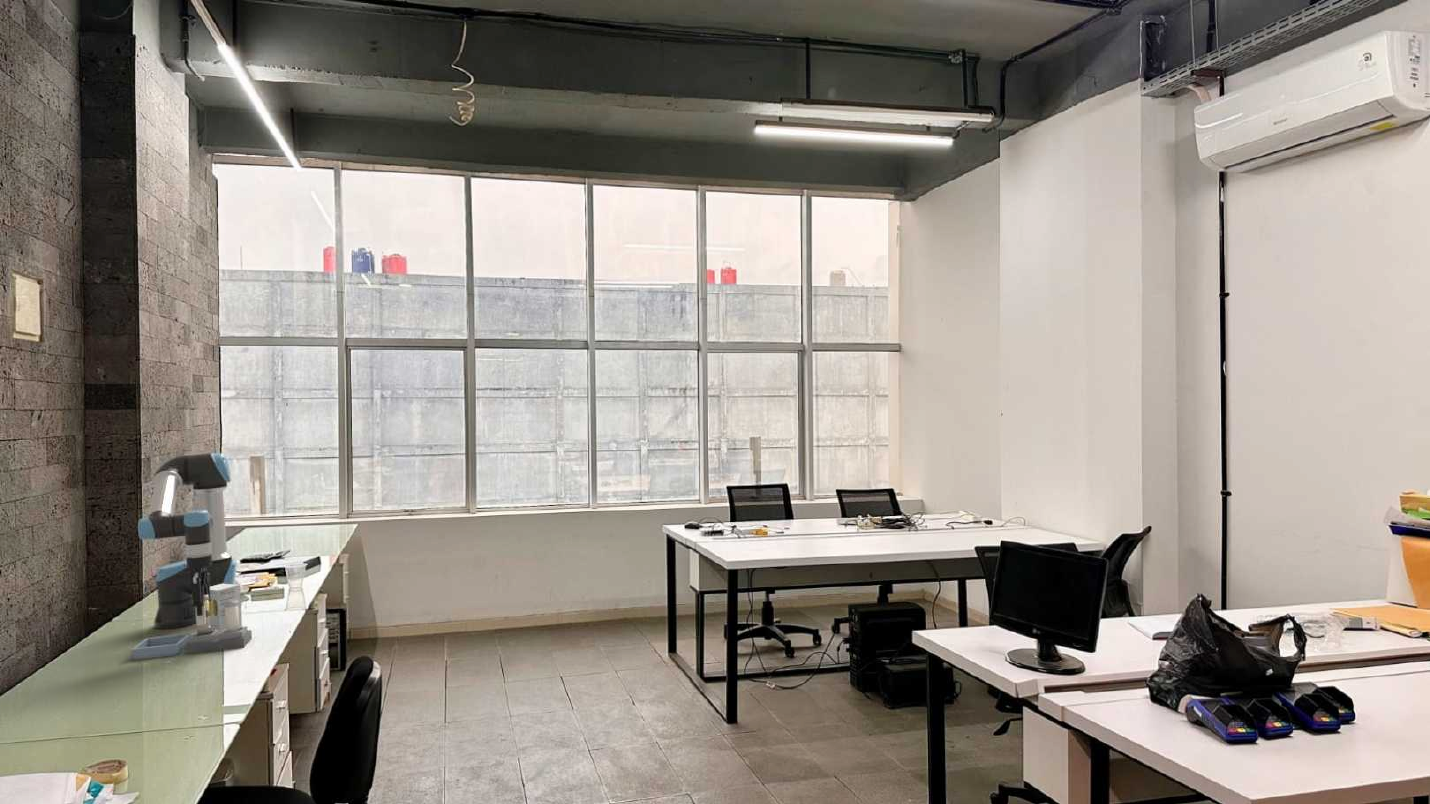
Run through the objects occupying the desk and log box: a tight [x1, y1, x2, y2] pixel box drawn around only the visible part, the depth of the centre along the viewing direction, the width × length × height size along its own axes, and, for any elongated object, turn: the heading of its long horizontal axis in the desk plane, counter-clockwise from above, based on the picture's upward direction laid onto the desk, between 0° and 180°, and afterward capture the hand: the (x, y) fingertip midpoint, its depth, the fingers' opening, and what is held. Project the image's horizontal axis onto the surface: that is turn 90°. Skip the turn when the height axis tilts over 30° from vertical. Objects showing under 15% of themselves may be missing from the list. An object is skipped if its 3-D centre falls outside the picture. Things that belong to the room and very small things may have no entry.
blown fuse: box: [196, 594, 211, 632], centre depth 301 cm, size 4×4×12 cm
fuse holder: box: [184, 600, 253, 655], centre depth 302 cm, size 11×18×15 cm, turn 106°
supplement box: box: [209, 584, 243, 633], centre depth 321 cm, size 10×9×17 cm
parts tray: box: [130, 633, 192, 661], centre depth 299 cm, size 14×14×4 cm
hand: (203, 622), depth 301 cm, fingers closed on blown fuse, 4 cm apart
